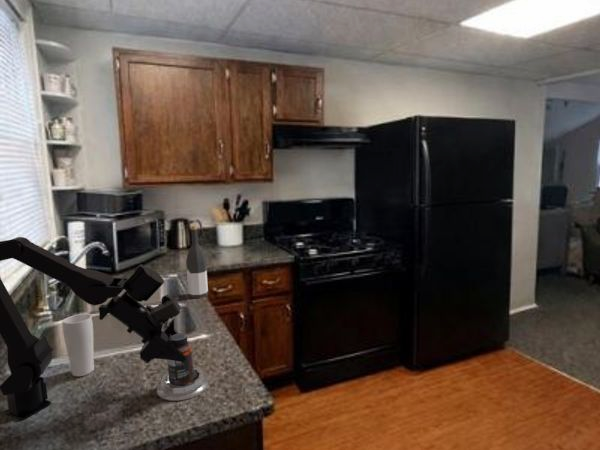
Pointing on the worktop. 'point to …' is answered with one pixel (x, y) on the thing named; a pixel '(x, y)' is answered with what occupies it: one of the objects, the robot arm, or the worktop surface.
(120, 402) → the worktop surface
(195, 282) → the wine bottle
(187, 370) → the supplement bottle
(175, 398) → the faceted metal ring
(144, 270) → the robot arm
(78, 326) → the drinking glass
